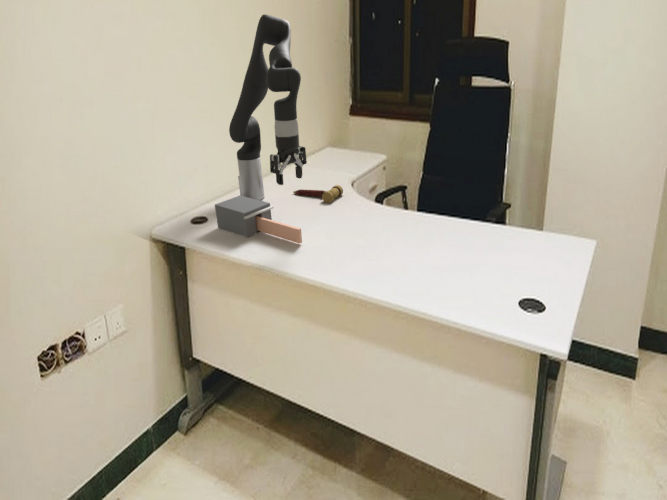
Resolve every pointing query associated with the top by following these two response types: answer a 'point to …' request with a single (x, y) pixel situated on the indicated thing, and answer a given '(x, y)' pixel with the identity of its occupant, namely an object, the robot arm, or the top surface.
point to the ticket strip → (278, 229)
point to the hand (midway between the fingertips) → (289, 181)
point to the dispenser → (241, 215)
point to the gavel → (322, 193)
